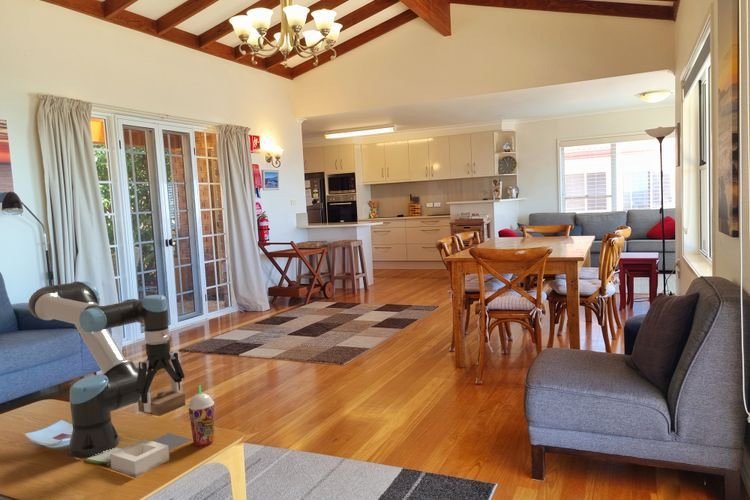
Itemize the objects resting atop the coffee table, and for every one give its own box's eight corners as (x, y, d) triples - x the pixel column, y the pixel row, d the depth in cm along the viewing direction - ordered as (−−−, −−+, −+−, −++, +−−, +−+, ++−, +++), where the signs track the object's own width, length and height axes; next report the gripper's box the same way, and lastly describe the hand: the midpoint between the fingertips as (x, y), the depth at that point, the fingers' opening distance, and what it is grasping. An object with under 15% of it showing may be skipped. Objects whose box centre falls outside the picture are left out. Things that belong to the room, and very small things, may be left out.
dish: (111, 469, 172) (109, 453, 171) (145, 453, 182) (143, 438, 182) (135, 477, 166) (134, 461, 165) (169, 461, 176) (168, 445, 175)
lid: (138, 411, 186) (137, 396, 186) (165, 400, 195) (163, 386, 195) (159, 416, 181) (158, 401, 180) (185, 405, 190) (184, 390, 189)
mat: (139, 447, 187) (138, 446, 187) (168, 434, 197) (168, 432, 197) (162, 454, 181) (162, 453, 181) (192, 440, 191) (191, 439, 191)
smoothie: (209, 449, 183) (205, 390, 181) (186, 448, 184) (181, 389, 183) (221, 438, 191) (217, 381, 189) (199, 437, 193) (194, 381, 191)
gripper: (134, 351, 174) (139, 420, 176) (192, 334, 194) (197, 396, 196) (119, 349, 178) (124, 416, 180) (178, 332, 198) (182, 393, 200)
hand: (162, 406), depth 188 cm, fingers closed on lid, 10 cm apart
